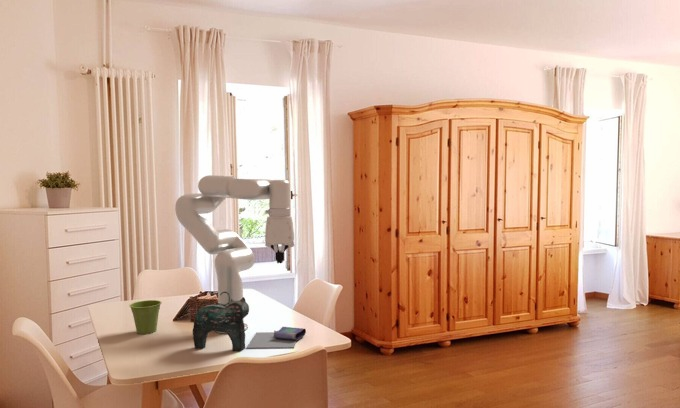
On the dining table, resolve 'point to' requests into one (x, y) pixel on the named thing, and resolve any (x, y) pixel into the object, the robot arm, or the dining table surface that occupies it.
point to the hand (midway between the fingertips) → (279, 262)
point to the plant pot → (146, 315)
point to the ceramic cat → (221, 322)
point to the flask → (290, 333)
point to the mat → (269, 341)
